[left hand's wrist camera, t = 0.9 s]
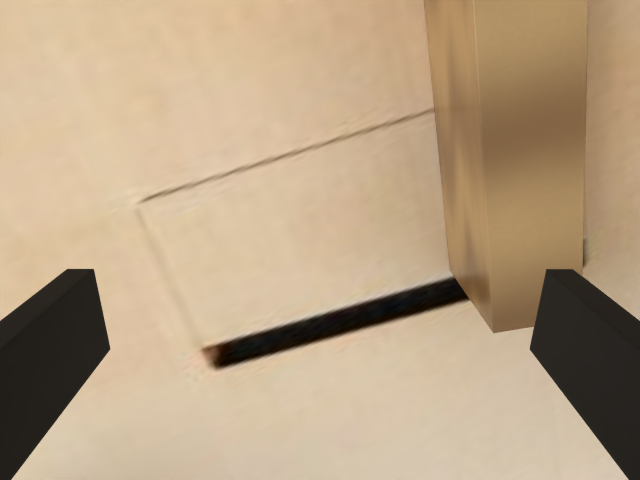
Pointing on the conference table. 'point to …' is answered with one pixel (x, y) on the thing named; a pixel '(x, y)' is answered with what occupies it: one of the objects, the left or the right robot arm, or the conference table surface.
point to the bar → (510, 145)
